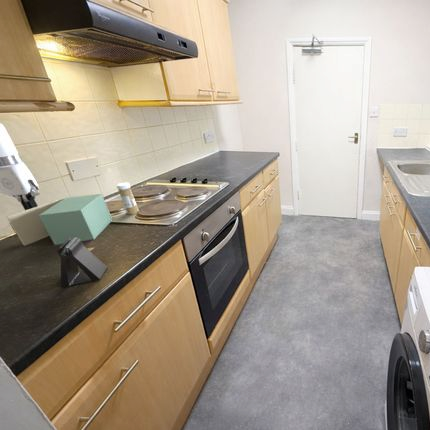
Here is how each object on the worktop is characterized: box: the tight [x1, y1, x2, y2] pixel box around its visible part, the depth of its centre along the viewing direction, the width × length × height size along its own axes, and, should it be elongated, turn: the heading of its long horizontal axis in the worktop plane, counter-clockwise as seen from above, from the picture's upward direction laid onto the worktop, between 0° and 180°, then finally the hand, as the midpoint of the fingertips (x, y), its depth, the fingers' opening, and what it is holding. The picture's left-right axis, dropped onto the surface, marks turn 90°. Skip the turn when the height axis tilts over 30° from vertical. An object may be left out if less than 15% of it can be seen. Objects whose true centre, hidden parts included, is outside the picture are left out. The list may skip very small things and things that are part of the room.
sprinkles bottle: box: [116, 182, 140, 215], centre depth 115 cm, size 5×5×14 cm
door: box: [6, 197, 66, 247], centre depth 99 cm, size 4×17×12 cm, turn 162°
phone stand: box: [56, 237, 108, 289], centre depth 74 cm, size 9×6×12 cm, turn 109°
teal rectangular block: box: [39, 193, 113, 246], centre depth 100 cm, size 12×17×12 cm
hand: (32, 210), depth 97 cm, fingers closed
